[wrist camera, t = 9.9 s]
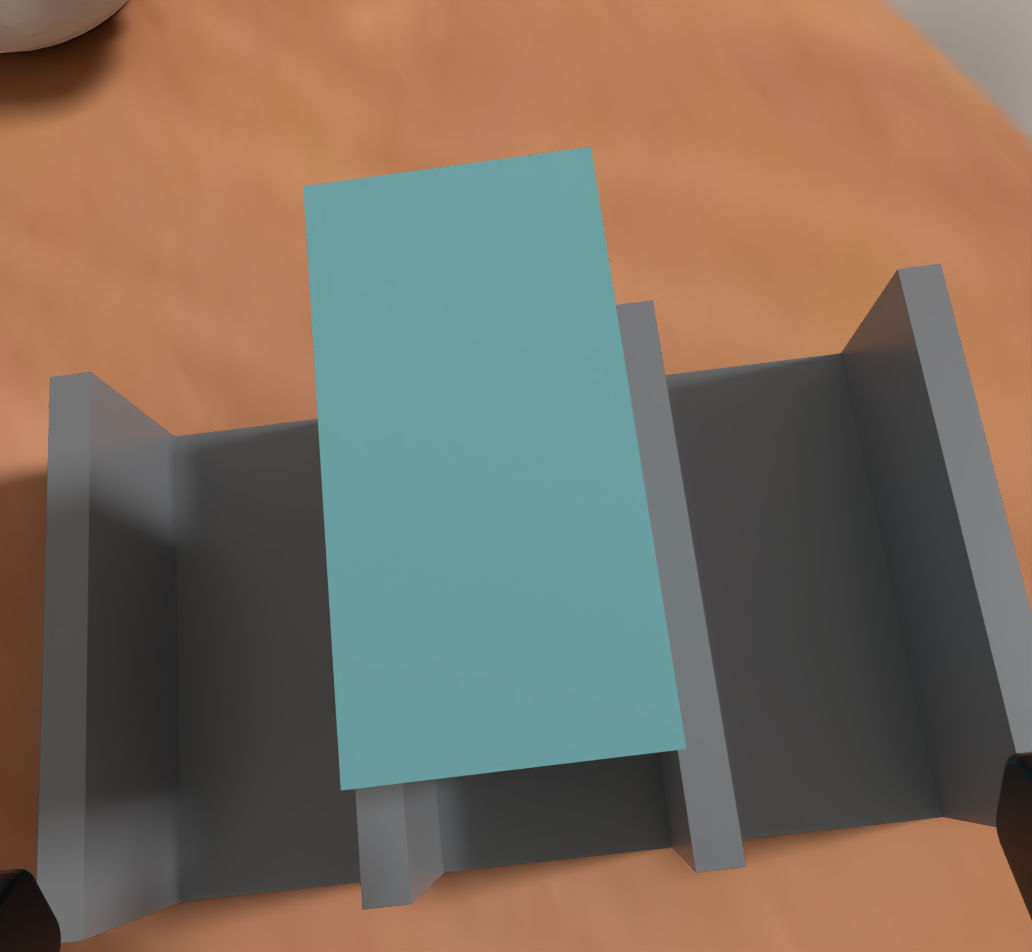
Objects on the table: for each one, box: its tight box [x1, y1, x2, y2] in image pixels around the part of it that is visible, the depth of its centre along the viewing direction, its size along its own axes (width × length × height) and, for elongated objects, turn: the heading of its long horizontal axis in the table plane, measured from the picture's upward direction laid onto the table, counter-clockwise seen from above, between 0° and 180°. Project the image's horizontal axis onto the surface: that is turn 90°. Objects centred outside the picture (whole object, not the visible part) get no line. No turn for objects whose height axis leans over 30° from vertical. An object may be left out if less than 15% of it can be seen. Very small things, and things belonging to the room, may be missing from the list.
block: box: [303, 147, 686, 790], centre depth 15 cm, size 6×3×12 cm, turn 7°
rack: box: [37, 264, 1032, 943], centre depth 19 cm, size 10×17×5 cm, turn 96°
